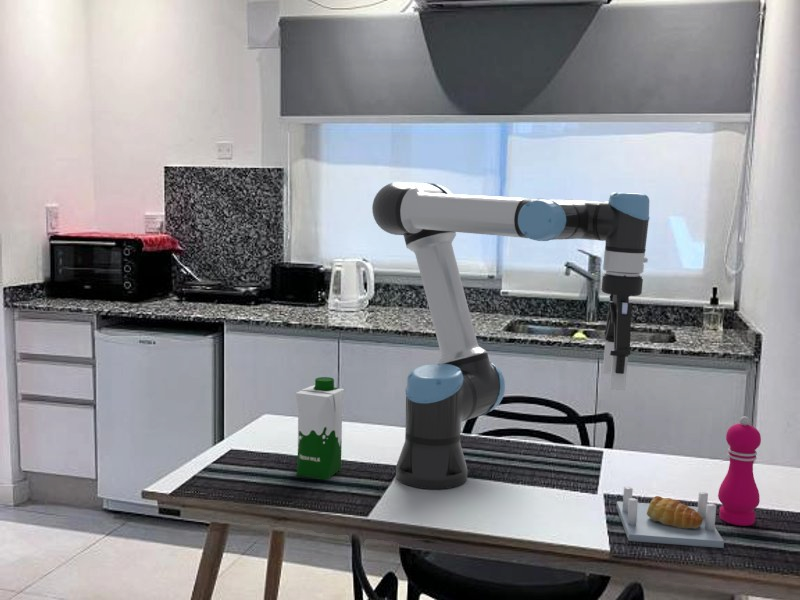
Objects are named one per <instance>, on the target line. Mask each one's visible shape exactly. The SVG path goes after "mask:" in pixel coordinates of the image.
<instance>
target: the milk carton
mask: <svg viewBox="0 0 800 600" xmlns="http://www.w3.org/2000/svg"><path fill="white" fill-rule="evenodd" d="M314 382H315V383H314V385H313V384H312V385H310V386H308V387H306V388H302V389H301V390H299V391H297V392H295V397H296V404H297V409H298V410H297V418H298V419H297V460H296V463H297V464H296V465H297V466H296V476H300V477H304V478H305V477H306V478H310V479H316V478H317V480H322V479H324V480H323V481H326V480H328V479H330V478H331V477H333V476H334V475H336V474H337V473H339V472H340V471H341V470H342V468H341V467H342V448H343V447H342V445H343V444H342V442H343V441H342V440H343V439H342V438H343V407H344V406H343V404H344V403H343V402H344V393H345V392H344V391H345V389H344V388H339V387H335V379H334V378H333V377H330V376H329V377H327V376H325V377H324V376H321V377H317V378H315V379H314ZM338 471H339V472H338ZM335 473H336V474H335ZM329 477H330V478H329Z"/></svg>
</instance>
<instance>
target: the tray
mask: <svg viewBox="0 0 800 600" xmlns="http://www.w3.org/2000/svg"><path fill="white" fill-rule="evenodd" d="M633 492H634V491H633V487H631V486H624V487H623V496H622V497H623V498H622V501H616V505H615V508H616V511H617V512H618V516H619V518H620V521H621V524H622V526H623V529H624V532H625V535H626V538H627V539H628V541H629V542H637V543H638V542H640V543H654V544H666V545H678V546H679V545H681V546H691V547H692V546H693V547H707V548H719V549H724V548H725V547H724V545H725V539H723V538H722V536H721V534H720V533H719V531H718V530H717V528H716V527H715V526H716V525H715V524H716V516H717V515H716V514H717V504H715V503H708V499H709V493H708V492H705V491H699V492H698V499H697V506H691V505H690V506H689V505H687V506H688V507H690V508H692V509H694V510H695V511H696V512H698V513H699V514H700V515H701V516H702V517H703V521H702V525H701V526H700V527H698V528H696V529H693V528H688V529H687V528H685V529H683V528H678V527H673V526H671V525H665V524H662V523H661V522H660V521H653V520H652V519H651V518H650V517H649V516H648V515H647V511H648V507H649V504H650V503H649V502H648V503H646V502H639V500H638V498H634V497H633Z"/></svg>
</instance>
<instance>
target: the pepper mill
mask: <svg viewBox="0 0 800 600" xmlns="http://www.w3.org/2000/svg"><path fill="white" fill-rule="evenodd" d="M750 422H751V420H750V418H749V417H748V416H744V415H743V416H741V417H740V418H739V423H736V424H733V425H730V427H729V428H728V429H727V431H726V434H725V440H726V442H727V444H728V446H729V447H728V448H727V457H729V465H728V469H727V472H726V475H725V477H724V479H723V480H722V481H721V483H720V485H719V489H718V493H717V494H718V495H717V498H718V501H719V502H720V503H721V506H720V507H719V516H718V517H719V519H720V520H722V521H723V522H726V523H728V524H730V525H735V526H744V527H745V526H747V527H748V526H752V525H754V524H755V522H756V512H755V509H756V508H757V507H758V506H759V504H760V501H761V500H760V492H759V489H758V486H757V484H756V481H755V476H754V461H756V460H757V455H758V452H757V451H756V450H757V449H758V448H759V447H760V445H761V442H762V437H761V434H760V431H759V430H758V429H757V428H756V427H755V426H753V425H751V424H750Z"/></svg>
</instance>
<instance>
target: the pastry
mask: <svg viewBox="0 0 800 600" xmlns="http://www.w3.org/2000/svg"><path fill="white" fill-rule="evenodd" d="M688 506H689V505H687V504H684V503H682V502H680V500H676V499H675V500H673V499H672V498H670V497H667V498H663V497H662V496H659V495H655V496H653V498H652V499H651V501H650V503H649V507H648V511H647V515H648V516H649V517H650V518H651V519H652V520H653V521H660V522H661V523H662V524H665V525H671V526H673V527H678V528H683V529H685V528H687V529H688V528H693V529H696V528H698V527H700V526H701V525H702V521H703V517H702V516H701V515H700V514H699V513H698V512H696V511H695V510H694V509H692V508H690V507H688Z"/></svg>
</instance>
